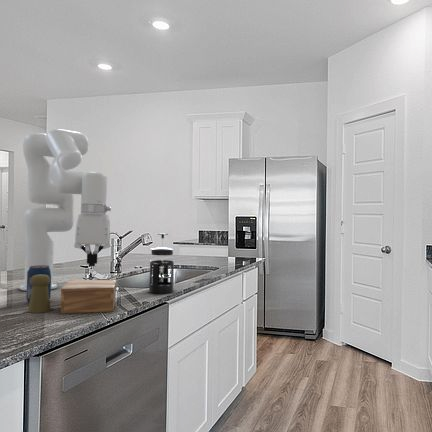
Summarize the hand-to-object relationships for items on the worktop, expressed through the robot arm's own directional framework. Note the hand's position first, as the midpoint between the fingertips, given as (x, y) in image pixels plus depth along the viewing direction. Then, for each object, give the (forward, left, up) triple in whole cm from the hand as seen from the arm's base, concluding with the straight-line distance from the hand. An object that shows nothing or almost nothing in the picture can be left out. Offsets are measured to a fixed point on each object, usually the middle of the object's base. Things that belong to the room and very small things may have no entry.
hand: (91, 265), depth 140 cm
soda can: (-9, -17, -13) cm, 23 cm away
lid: (+2, 0, -6) cm, 7 cm away
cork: (+4, -14, -13) cm, 20 cm away
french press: (-21, +23, -13) cm, 34 cm away
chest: (+2, 0, -13) cm, 13 cm away
